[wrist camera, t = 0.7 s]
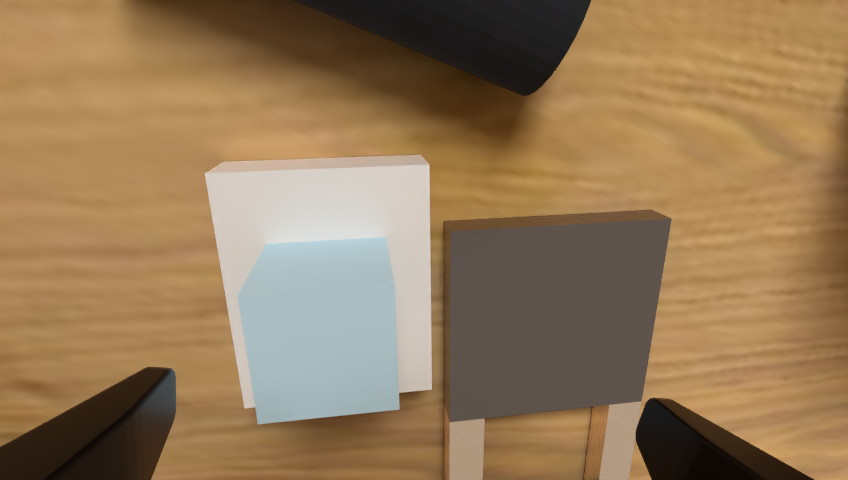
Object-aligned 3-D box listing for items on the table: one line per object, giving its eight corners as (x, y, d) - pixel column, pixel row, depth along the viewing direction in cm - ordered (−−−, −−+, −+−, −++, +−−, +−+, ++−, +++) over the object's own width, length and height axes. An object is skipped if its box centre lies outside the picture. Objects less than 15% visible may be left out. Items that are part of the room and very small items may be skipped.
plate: (444, 547, 27) (449, 572, 26) (443, 221, 21) (450, 231, 19) (604, 524, 29) (617, 547, 27) (651, 209, 22) (671, 218, 21)
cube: (279, 347, 19) (257, 424, 15) (265, 243, 18) (237, 295, 13) (389, 338, 20) (399, 409, 15) (385, 236, 18) (394, 284, 14)
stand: (256, 373, 22) (244, 408, 20) (223, 161, 19) (204, 173, 16) (424, 358, 23) (431, 389, 21) (420, 154, 20) (429, 164, 17)
